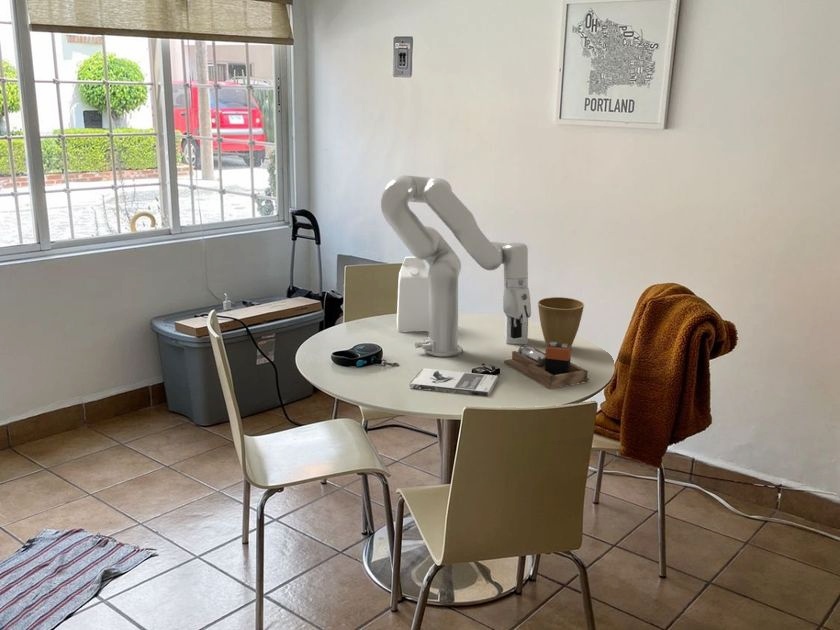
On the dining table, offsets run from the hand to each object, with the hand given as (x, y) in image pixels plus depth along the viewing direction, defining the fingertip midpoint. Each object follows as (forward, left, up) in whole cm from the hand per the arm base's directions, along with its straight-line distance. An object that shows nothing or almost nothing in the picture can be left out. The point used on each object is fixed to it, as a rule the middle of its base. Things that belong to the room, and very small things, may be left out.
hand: (516, 337), depth 253 cm
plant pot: (+16, -1, -6) cm, 17 cm away
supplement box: (+8, +13, -6) cm, 17 cm away
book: (-31, -16, -7) cm, 35 cm away
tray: (-1, -18, -6) cm, 19 cm away
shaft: (-1, -11, -5) cm, 12 cm away
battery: (-1, -25, -5) cm, 25 cm away
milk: (-17, +43, -6) cm, 47 cm away
